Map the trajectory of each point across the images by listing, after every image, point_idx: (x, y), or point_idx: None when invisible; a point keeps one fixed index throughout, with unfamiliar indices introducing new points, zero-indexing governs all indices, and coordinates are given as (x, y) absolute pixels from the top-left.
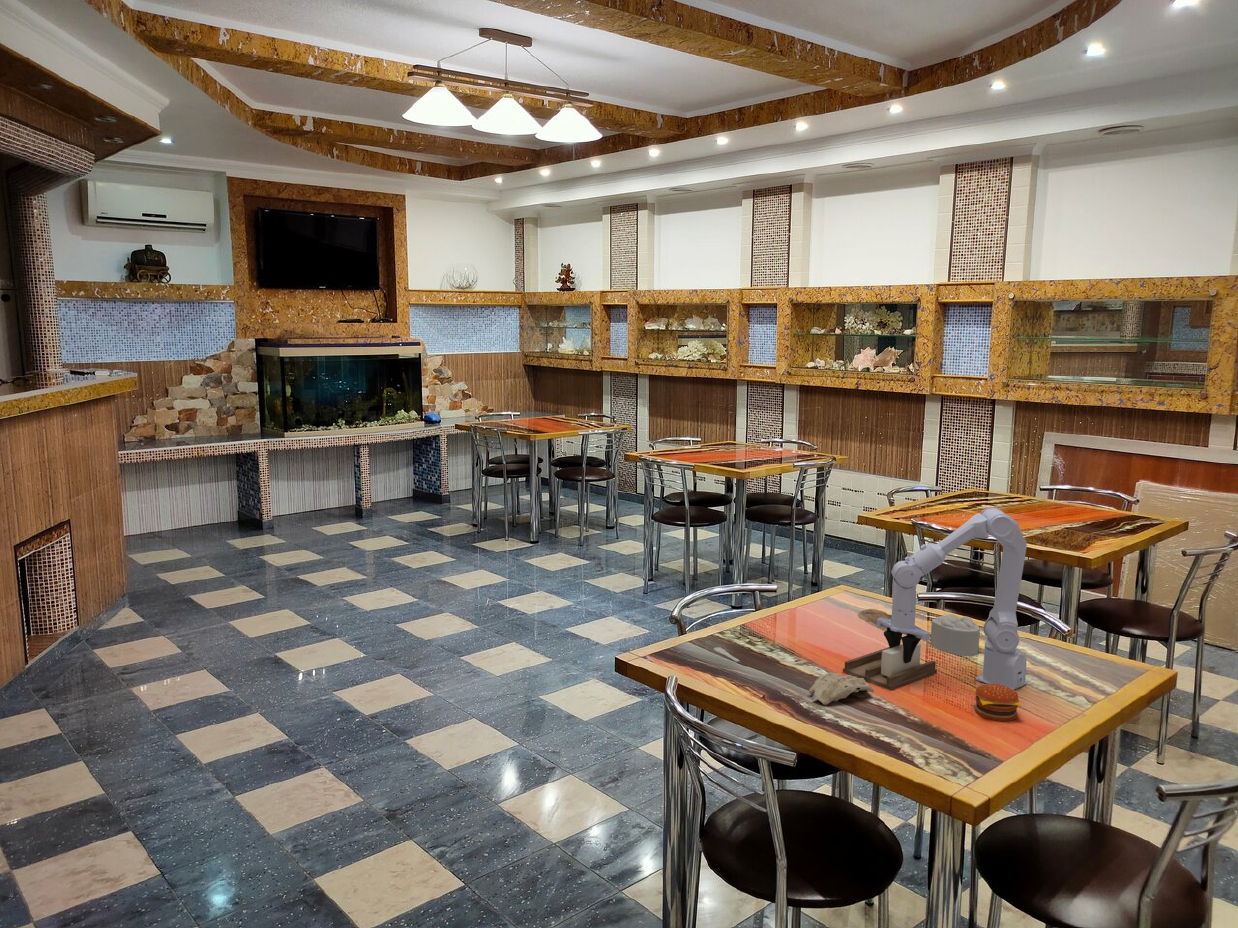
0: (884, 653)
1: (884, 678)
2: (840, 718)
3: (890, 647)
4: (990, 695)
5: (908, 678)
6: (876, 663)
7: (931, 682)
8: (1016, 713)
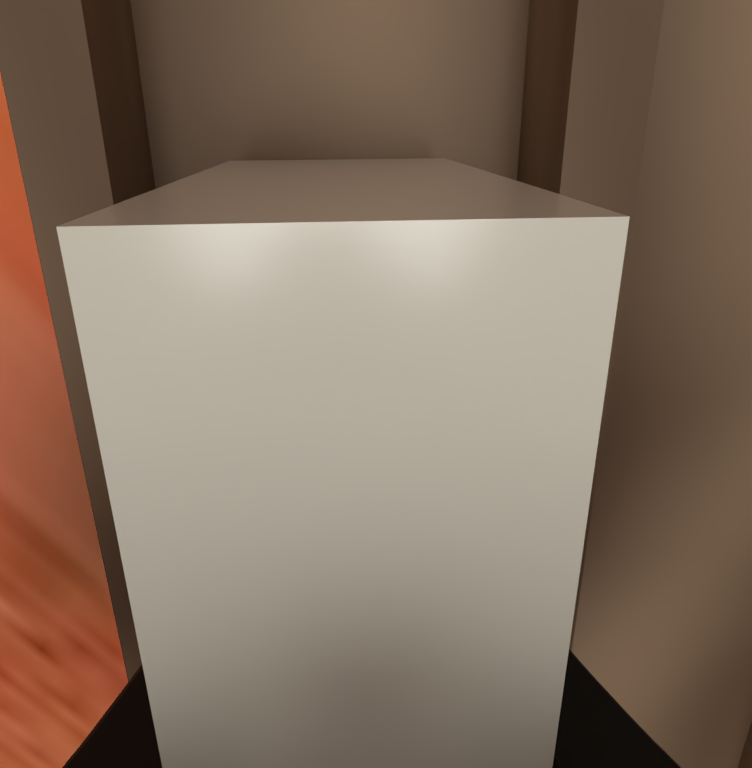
0: (466, 204)
1: (346, 133)
2: None
3: (625, 750)
4: None
5: None
6: (746, 507)
7: (21, 612)
8: None
